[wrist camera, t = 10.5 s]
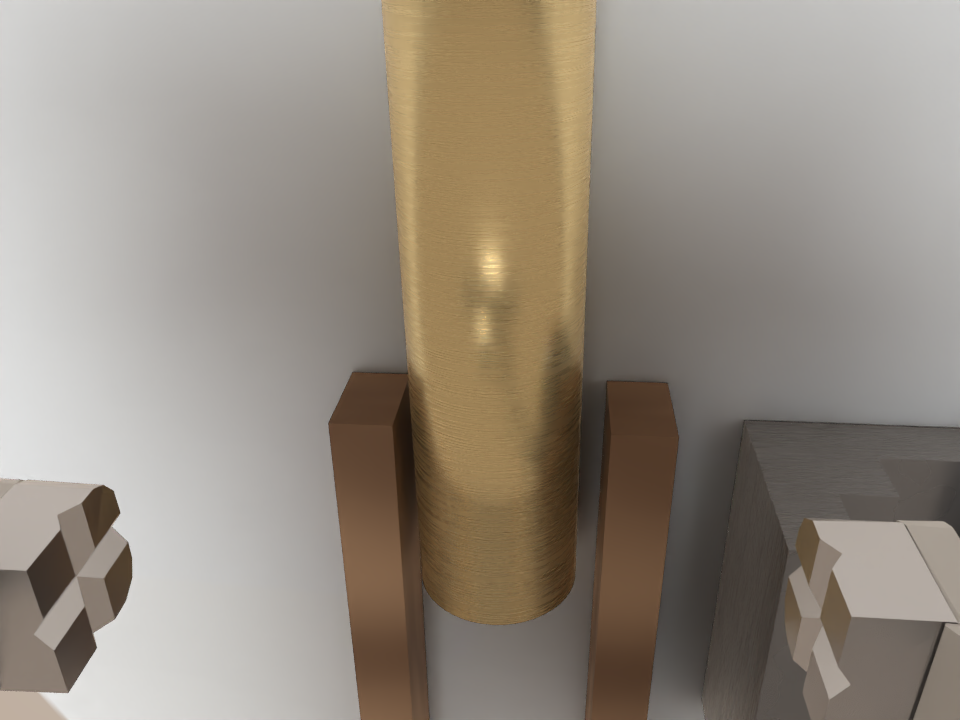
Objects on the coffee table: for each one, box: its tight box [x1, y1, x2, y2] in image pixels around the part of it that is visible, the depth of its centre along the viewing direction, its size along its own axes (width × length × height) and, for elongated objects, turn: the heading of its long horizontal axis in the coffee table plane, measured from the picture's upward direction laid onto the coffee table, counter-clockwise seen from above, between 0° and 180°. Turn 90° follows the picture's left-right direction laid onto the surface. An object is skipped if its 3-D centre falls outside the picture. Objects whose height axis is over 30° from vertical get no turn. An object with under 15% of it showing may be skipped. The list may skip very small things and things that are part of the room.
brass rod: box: [381, 0, 596, 625], centre depth 19 cm, size 14×4×4 cm, turn 1°
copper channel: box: [328, 372, 679, 720], centre depth 24 cm, size 16×8×2 cm, turn 1°
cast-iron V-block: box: [702, 420, 960, 720], centre depth 21 cm, size 10×8×5 cm
